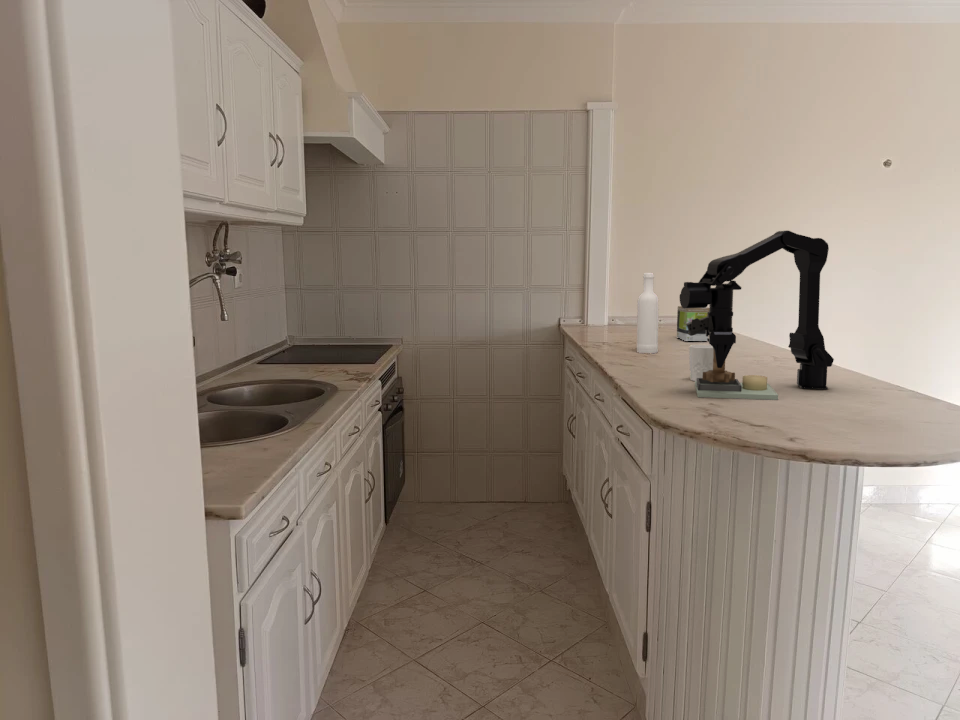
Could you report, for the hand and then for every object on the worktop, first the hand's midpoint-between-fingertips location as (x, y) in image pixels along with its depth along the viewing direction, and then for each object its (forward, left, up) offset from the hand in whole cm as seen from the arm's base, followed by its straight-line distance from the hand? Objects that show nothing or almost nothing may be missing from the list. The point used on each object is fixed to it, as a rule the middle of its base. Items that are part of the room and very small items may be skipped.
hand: (718, 366), depth 181 cm
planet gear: (0, 0, -4) cm, 4 cm away
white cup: (+3, -18, -7) cm, 20 cm away
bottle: (+20, -78, -7) cm, 81 cm away
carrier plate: (-4, 0, -7) cm, 8 cm away
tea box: (+2, -121, -7) cm, 121 cm away
